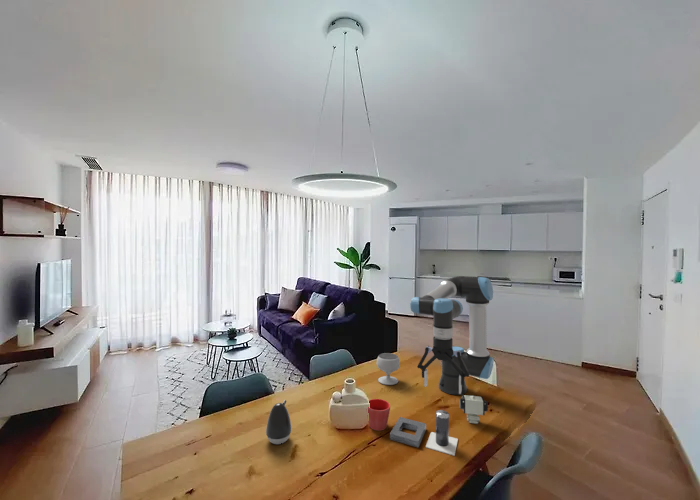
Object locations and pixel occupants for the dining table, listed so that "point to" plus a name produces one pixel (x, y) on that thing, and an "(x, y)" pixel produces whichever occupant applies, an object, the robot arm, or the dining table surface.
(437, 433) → the metal cylinder
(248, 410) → the dining table surface
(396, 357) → the chalice
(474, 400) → the pneumatic valve
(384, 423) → the flower pot
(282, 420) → the dark grey tapered piece
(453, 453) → the pad
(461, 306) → the robot arm
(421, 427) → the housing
